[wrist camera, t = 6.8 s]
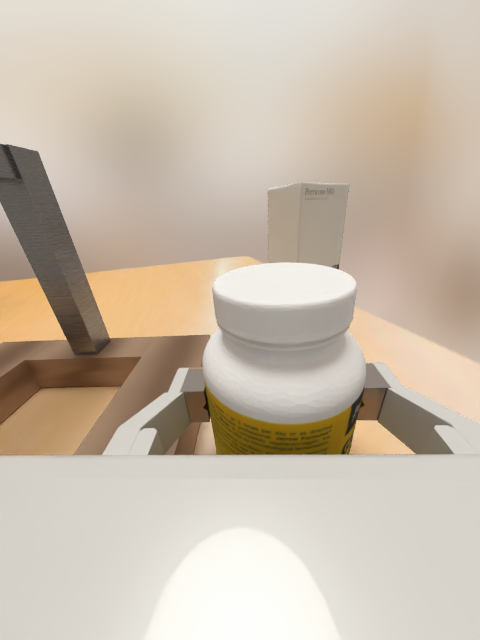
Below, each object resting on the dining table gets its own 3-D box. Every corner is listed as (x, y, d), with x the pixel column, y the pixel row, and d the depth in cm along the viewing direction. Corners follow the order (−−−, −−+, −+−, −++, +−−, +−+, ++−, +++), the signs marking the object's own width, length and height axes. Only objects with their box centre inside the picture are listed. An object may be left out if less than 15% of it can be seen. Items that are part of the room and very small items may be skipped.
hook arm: (-32, 515, 12) (-629, 28, 4) (100, 368, 22) (8, 154, 14) (5, 515, 12) (-538, 14, 4) (120, 367, 22) (38, 151, 14)
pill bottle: (357, 550, 10) (450, 316, 5) (213, 540, 10) (154, 323, 5) (321, 423, 15) (345, 253, 10) (229, 421, 16) (208, 260, 11)
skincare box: (294, 315, 29) (301, 181, 23) (265, 301, 34) (264, 186, 27) (337, 299, 33) (353, 180, 26) (305, 288, 38) (313, 185, 31)
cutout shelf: (-179, 508, 12) (-234, 477, 11) (18, 367, 23) (2, 342, 22) (179, 513, 11) (166, 478, 10) (213, 361, 22) (210, 334, 20)
